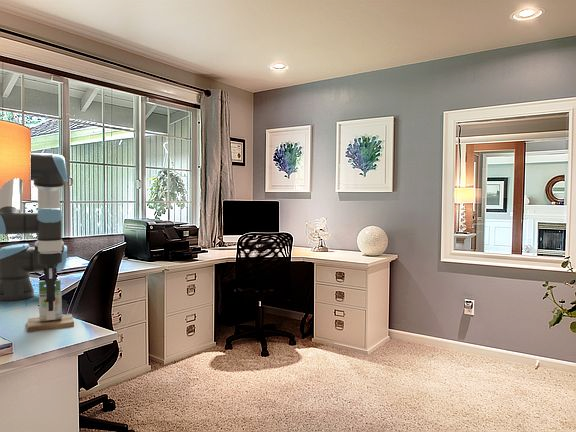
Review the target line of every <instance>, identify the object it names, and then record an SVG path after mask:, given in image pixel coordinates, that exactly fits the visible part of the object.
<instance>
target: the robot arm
mask: <svg viewBox="0 0 576 432" xmlns="http://www.w3.org/2000/svg"><path fill="white" fill-rule="evenodd" d="M30 153H31V180H30V181H33V185H34V186H35V188H37V212H23V194H24V193H23V192H24V191H23V190H24V189H23V188H24V182H23V181H22V180H21V179H19V178H17V179H16V178H15V179H11V180H10V181H8V182H7V183H5V184H4V185H3V186H2V188H1V189H0V235H18V234H19V235H20V234H21V235H23V234H26V235H27V234H37V240H36V241H35V242H34V246H31V245H30V243H18V244H12V245H8V246H3V247H1V248H0V301H1V302H7V301H8V302H10V301H20V300H25V299H29V298H33V297H35V290H34V287H33V284H32V282H31V279H30V274H32V273H43V274H44V281H45V282H46V285H45V287H47V299H46V300H44V302H46V320H54V319H55V286H56V284H55V281H57V273H58V272H59V271H62V270H65V266H66V263H67V258H68V257H67V255H68V246H67V245H65V244H64V243H65V242H64V241H63V213H62V209H61V189H62V188H63V187H64V186H65V183H66V182H68V172H67V171H68V170H67V167H66V159H65V157H64V156H63V155H62V154H55V153H42V152H41V153H40V152H39V153H37V152H36V153H35V152H30Z"/></svg>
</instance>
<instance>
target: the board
mask: <svg viewBox="0 0 576 432" xmlns="http://www.w3.org/2000/svg"><path fill="white" fill-rule="evenodd" d="M74 326H75V321H74V317H73V315H72V313H67V314H65V313H64V314H62V319H58V320H49V321H41V322H40V320H39V317H31V318H27V326H26V327H27V328H26V329H27V330H26V332H27V333H28V332H37V331H46V330H53V329H54V330H55V329H62V328H71V327H74Z"/></svg>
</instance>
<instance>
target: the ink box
mask: <svg viewBox="0 0 576 432" xmlns="http://www.w3.org/2000/svg"><path fill="white" fill-rule="evenodd" d="M46 299H47V287H46V282H45V280H44V281H38V304H39V305H38V309H39V310H38V312H39V320H40V322H41V321H49V320H46V302H44V300H46ZM62 300H63V298H62V290H61V280H60V279H59V280H58V279H57V280H56V281H55V319H54V320H58V319H62V315H63V308H62V305H63V303H62Z"/></svg>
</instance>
